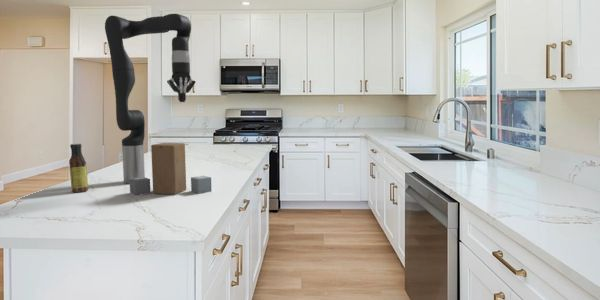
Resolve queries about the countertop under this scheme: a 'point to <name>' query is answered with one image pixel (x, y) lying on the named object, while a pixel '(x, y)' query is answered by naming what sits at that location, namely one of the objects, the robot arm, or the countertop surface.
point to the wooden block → (168, 168)
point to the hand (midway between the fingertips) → (182, 101)
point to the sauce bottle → (78, 169)
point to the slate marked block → (201, 184)
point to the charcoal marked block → (140, 186)
